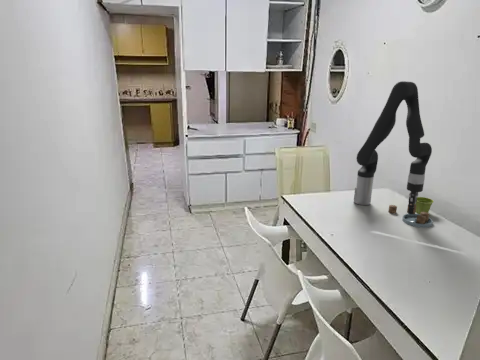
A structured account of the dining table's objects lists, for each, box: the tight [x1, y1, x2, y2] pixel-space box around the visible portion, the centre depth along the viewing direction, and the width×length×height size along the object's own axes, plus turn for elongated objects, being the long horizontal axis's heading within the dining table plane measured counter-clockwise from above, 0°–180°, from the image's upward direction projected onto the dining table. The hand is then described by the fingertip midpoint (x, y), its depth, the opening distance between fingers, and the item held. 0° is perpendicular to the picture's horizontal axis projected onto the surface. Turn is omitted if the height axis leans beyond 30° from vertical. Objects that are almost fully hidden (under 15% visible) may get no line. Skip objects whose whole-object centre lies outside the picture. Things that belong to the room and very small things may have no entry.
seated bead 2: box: [420, 212, 430, 223], centre depth 181 cm, size 4×4×4 cm
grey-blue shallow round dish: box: [402, 213, 434, 228], centre depth 181 cm, size 14×14×3 cm
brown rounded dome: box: [406, 204, 417, 214], centre depth 181 cm, size 4×4×4 cm
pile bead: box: [388, 204, 398, 214], centre depth 193 cm, size 4×4×4 cm
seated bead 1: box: [416, 215, 426, 224], centre depth 177 cm, size 4×4×4 cm
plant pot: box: [415, 196, 435, 214], centre depth 191 cm, size 9×9×9 cm
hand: (411, 212), depth 182 cm, fingers closed on brown rounded dome, 4 cm apart
